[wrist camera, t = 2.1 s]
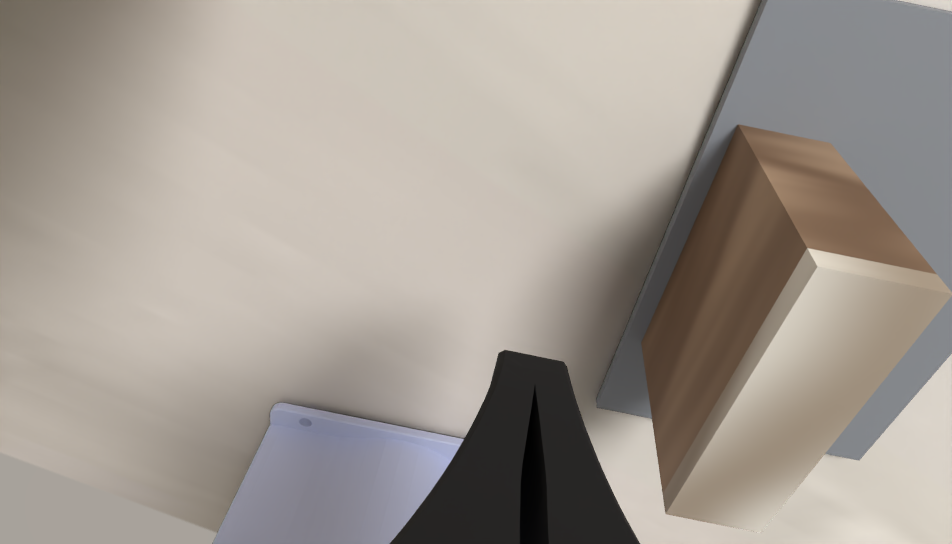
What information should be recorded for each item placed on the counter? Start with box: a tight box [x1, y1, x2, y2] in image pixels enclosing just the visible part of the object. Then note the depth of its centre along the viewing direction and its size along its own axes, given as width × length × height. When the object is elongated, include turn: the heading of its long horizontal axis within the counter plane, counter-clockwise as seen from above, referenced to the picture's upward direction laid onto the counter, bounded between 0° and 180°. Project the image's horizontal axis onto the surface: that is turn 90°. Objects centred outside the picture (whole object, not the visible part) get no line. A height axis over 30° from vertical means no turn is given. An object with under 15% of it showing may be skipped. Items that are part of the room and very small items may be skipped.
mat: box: [596, 0, 952, 460], centre depth 19 cm, size 10×15×1 cm, turn 170°
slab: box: [641, 124, 952, 533], centre depth 16 cm, size 2×8×6 cm, turn 170°
